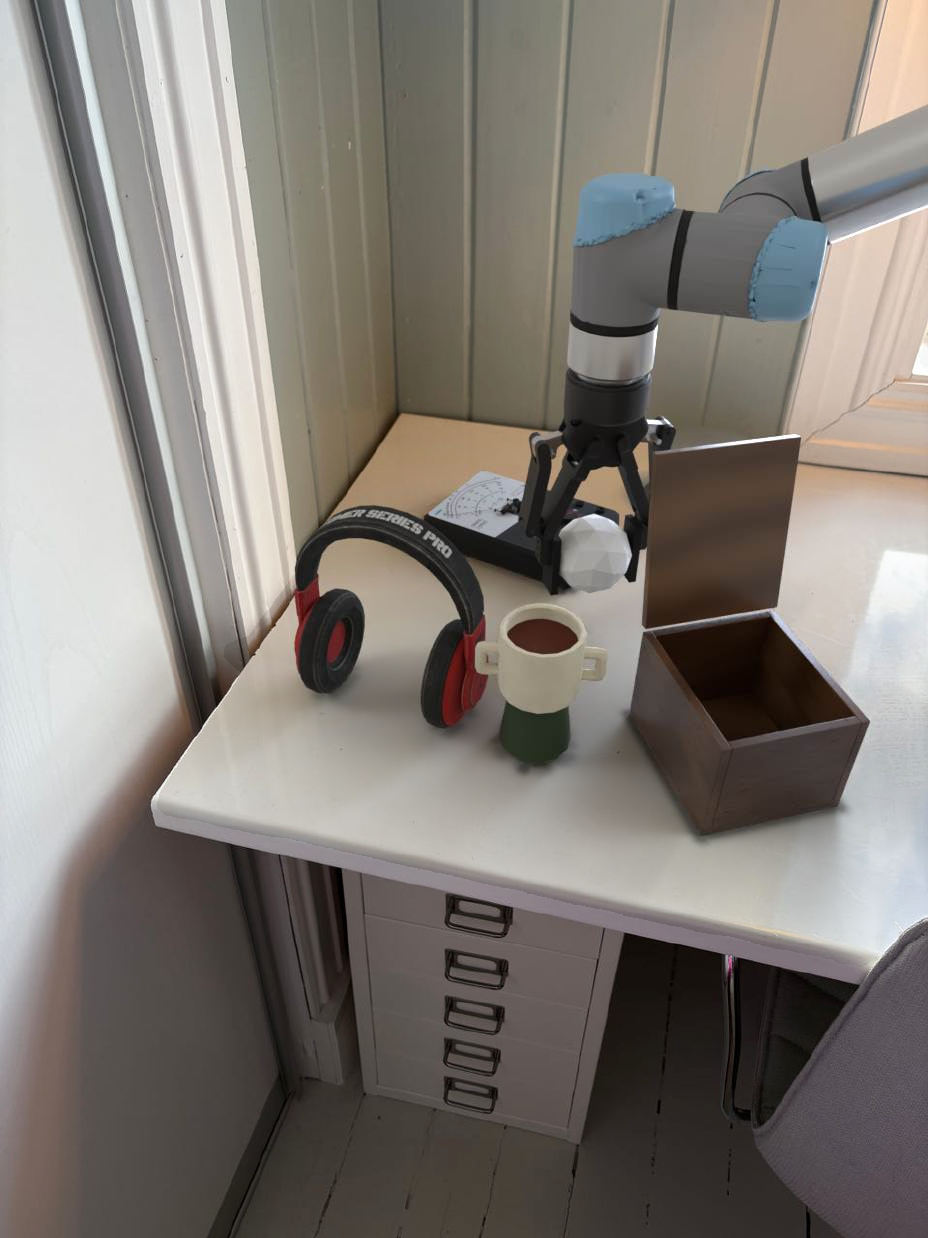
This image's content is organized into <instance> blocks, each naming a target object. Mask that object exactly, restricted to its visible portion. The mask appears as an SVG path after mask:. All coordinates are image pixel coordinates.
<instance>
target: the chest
mask: <svg viewBox="0 0 928 1238" xmlns="http://www.w3.org/2000/svg"><path fill="white" fill-rule="evenodd" d="M633 684H634V685H633V690H632V696H631V697H632V698H631V703H630V709H629V716H630V718H631V719H632V721H633V723H634V725H635V726H636V728H637V729H638V731H639V733H640V735H641V736H642V738H643V740H644V742H645V743H646V745H647V746H648V748H649V750H650V752H651V753H652V755H653V757H654V758H655V760H656V762H657V763H658V766H659V767H660V769H661V771H662V772H663V774H664V776H665V778H666V779H667V781H668V782H669V784H670V786H671V788H672V789H673V791H674V793H675V795H676V796H677V798H678V800H679V801H680V803H681V805H682V806H683V808H684V810H685V811H686V813H687V815H688V817H689V819H690V820H691V821H692V823H693V825H694V827H695V829H696V831H697V832H698V834H699V836H707V835H711V834H715V833H716V834H717V833H720V832H724V831H730V830H733V829H738V828H742V827H743V828H744V827H747V826H748V827H749V826H753V825H757V824H760V823H761V824H762V823H766V822H770V821H775V820H779V819H784V818H788V817H792V816H796V815H802V814H807V813H811V812H815V811H820V810H825V809H829V808H835V807H838V806H839V804H840V802H841V798H842V796H843V793H844V791H845V788H846V786H847V784H848V780H849V779H850V775H851V773H852V770H853V768H854V765H855V763H856V760H857V757H858V755H859V752H860V749H861V747H862V745H863V742H864V739H865V737H866V734H867V732H868V729H869V726H870V724H871V720H870V719H869V718H868V717H867V715H866V714H865V713H864V712H863V711H862V710H861V708H860V707H859V706H858V704H856V703H855V702H854V701H853V699H852V698H851V697H850V696H849V695H848V693H847V692H846V691H845V690H844V688H842V687H841V685H839V683H838V682H837V681H836V680H835V679H834V678H833V676H832V675H831V674H830V673H829V672H828V671H827V669H826V668H825V667H824V666H823V665H822V664H821V663H820V661H819V660H818V659H817V658H816V657H815V656H814V655H813V653H812V652H811V651H810V650H809V648H808V647H807V646H806V645H805V644H804V643H803V641H801V639H800V638H799V637H798V636H797V635H796V634H795V632H794V631H792V629H791V628H790V627H789V626H788V625H787V624H786V623H785V622H784V620H783V619H782V618H781V617H780V616H779V615H778V613H777V612H776V611H775V610H767V611H761V612H753V613H748V614H747V613H746V614H742V615H736V616H730V617H723V618H719V619H713V620H705V621H701V622H700V621H699V622H694V623H688V624H682V625H677V626H676V625H675V626H671V627H664V628H659V629H653V630H646V631H643V632H642V636H641V642H640V648H639V654H638V660H637V667H636V673H635V679H634V683H633Z"/></svg>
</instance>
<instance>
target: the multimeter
mask: <svg viewBox="0 0 928 1238" xmlns="http://www.w3.org/2000/svg"><path fill="white" fill-rule="evenodd" d="M525 484H526V482H524V481H521V480H516V479H513V478H510V477H507V476H504V475H501V474H497V473H493V472H491V471H487V470H480V471H478V472H477V473H475V474H474V475H473V476H472V477H470V478H469V479H468V480H467V481H466V482H464V483H463V484H462V485H460V487H458V488H457V489H456V490H455V491H453V492H452V493H451V494H450V495H448V496H447V497H446V498H445V499H443V500H442V501H440V502H439V503H438V504H437V505H435V506H434V507H433V508H432V509H431V510H429V511H428V512H427V513H425V515H424V516H423V520H424V521H426V522H427V523H429V524H430V525H431V526H433V527H434V528H436V529H437V530H439V531H440V532H441V533H442V534H443V535H444V536H446V537H447V538H448V539H449V540H450V541H451V542H452V543H453V544H454V545H455V546H456V548H457V549H458V550H459V551H460V552H461V553H462V555H465V556H467V557H471V558H473V559H476V560H479V561H482V562H485V563H488V564H490V565H494V566H496V567H498V568H502V569H505V570H507V571H510V572H513V573H516V574H519V575H522V576H525V577H527V578H530V579H532V580H535V581H538V582H540V583H541V582H542V583H543V581H542V576H543V566H541V564H540V563H539V561H538V559H537V557H536V555H535V550H536V536H534V537H532V538H529V537H527V536H526V535H525V533H524V531H523V530H522V528H521V526H520V525H519V523H518V517H519V512H520V507H521V503H522V498H523V493H524V488H525ZM550 491H551V489H547V492H546V496H545V501H546V499H547V497H548V495H549V493H550ZM545 501H544V503H545ZM591 514H596V515H599V516H602V517H605V518H608V519H610V520H612V521H614V522H615V523H616V524H617V525H618V526H619V527H620V513H619V512H618V511H616V510H614V509H611V508H608V507H605V506H602V505H598V504H595V503H592V502H589V501H585V500H583V499H580V498H579V499H578V498H575V497H574V498H573V500H572V502H571V504H570V506H569V508H568V510H567V512H566V514H565V516H564V518H563V520H562V522H561V524H560V526H559V528H558V530H557V534H558V535H559V533H560V531H561V530H562V529H563V528H564V527H565V526H566V525H568V524H569V523H570V522H571V521H572V520H573V519H577V518H581V517H584V516H588V515H591ZM570 588H573V587H572V586H570V585H569V584H568V583H567V582H566V581H565V580H564V579H563V578H562V577H561V576H560V575H559V586H558V589H561V590H568V589H570Z"/></svg>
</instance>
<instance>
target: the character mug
mask: <svg viewBox="0 0 928 1238" xmlns="http://www.w3.org/2000/svg"><path fill="white" fill-rule="evenodd" d="M498 629H499V630H498V641H493V640H492V641H491V640H489V641H488V640H485V641H482V642H479V643H477V645H476V647H475V668H476V671H477V672H478V673H480V674H486V675H488V676H496V677H497V683H498V686H499V687H498V689H499V691H500V693H501V695H502V696H503V698H504V699H505V700H506V701H505V704H504V709H503V713H502V717H501V722H500V726H499V732H498V734H499V739H500V743H501V746H502V747H503V749H504V750H506V752H507V753H508V754H509V755H510V756H511V757H513V758H514V759H517V760H519V761H521V762H522V763H525V764H539V765H543V764H546V763H549V762H553V761H554V760H558V759H559V757H560V756H561V755H562V754H563V753H565V752H566V751H567V750H568V748H569V744H570V741H571V720H570V708H569V706H570V704H572V703H573V701H574V700H576V698H577V696H578V694H579V692H580V690H581V689H580V688H581V685H582V684H581V683H582V681H590V682H599V681H602V680H603V679H604V677H605V676H606V673H607V664H608V658H609V654H608V651H607V649H606V648H602V647H595V646H587V638H588V637H587V629H586V626H585V624H584V622H583V620H582V619H581V618H579V616H578V615H576V614H575V613H574V612H573V611H570V610H569V609H567V608H564V607H563V606H560V605H555V604H551V603H546V602H545V603H544V602H540V603H539V602H538V603H537V602H535V603H530V604H524V605H522V606H519V607H517V608H514V609H512V610H511V611H510V612H508V613H507V614H506V615H505V616H504V617H503V619H502V621H501V624H500V626H499V628H498ZM487 654H494V655H495V654H497V663H495V662H489V663H487ZM585 660H595V661H594V667H593V668H584V664H585V663H584V662H585Z"/></svg>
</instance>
